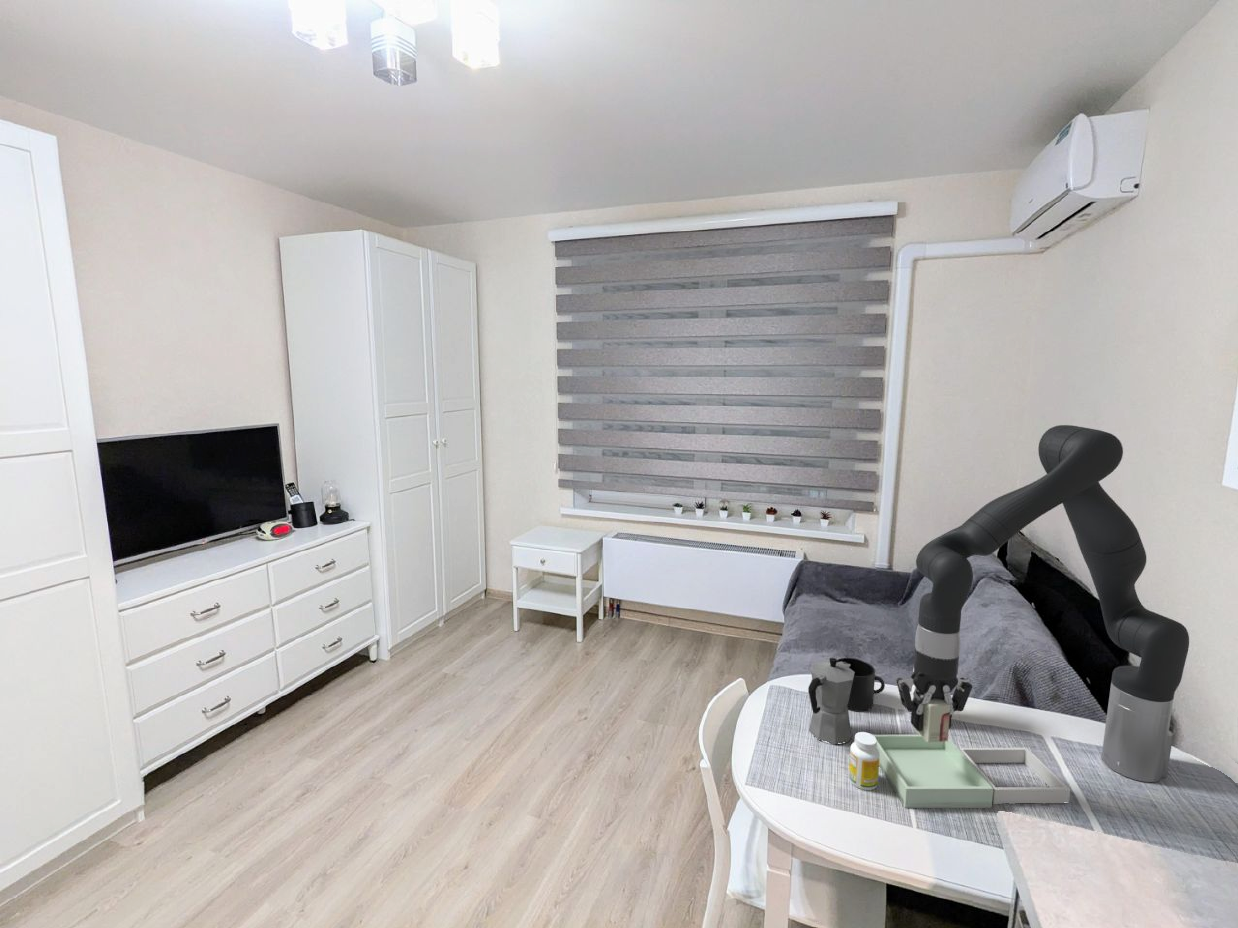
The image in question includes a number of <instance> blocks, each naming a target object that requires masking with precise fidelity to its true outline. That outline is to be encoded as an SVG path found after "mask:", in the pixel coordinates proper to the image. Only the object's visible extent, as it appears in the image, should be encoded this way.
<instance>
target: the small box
mask: <svg viewBox="0 0 1238 928" xmlns="http://www.w3.org/2000/svg"><path fill="white" fill-rule="evenodd" d="M922 714H923V725H922V731H917V730H916V729H915V728H914V726H913V725H912V726H913V729H914V731H915V732H916V733H918V735H921V736H922V737H923V738H924V739H925V740H926V741H927V742H928V743H930V742H943V741H948V737H949V732H950V731H949V730H950V728H949V717H950V704H949V703H946V702H945V701H944V700H943V699H937V698H934V699H930V701H929V703H928V704H927V705H926V706H925V708H924V710H923V713H922Z"/></svg>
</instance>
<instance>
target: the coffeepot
mask: <svg viewBox="0 0 1238 928" xmlns="http://www.w3.org/2000/svg"><path fill="white" fill-rule="evenodd" d="M837 660H838V659H837V658H835V657H830V658H829V660H822V661H818V662H814V663H813V664H812V666H811V669H810V672H811V681H810V683H809V685H808V689H807V690H808V694H809V695H808V696H809V701H810V707H811V710H812V716H811V719H810V724H809V728H808V731H809V732H810V734H811V733H812V734H813V735H814V736H815V737H816V738H818V739H820V740H823V741H827V742H829V743H833V744H832V745H834V744H838V743H843V742H846V743H847V741H848V742H850V739H851V733H852V728H851V723H850V714H849V709H848V707H847V704H848V701H849V696H850V692H851V687H852V683H853V678H854V673H855V672H854V671H853V670H851V669H850V668H849V667H850V665H851V664H848V663H846V662H837ZM836 662H837V663H836ZM812 734H811V735H812ZM813 735H812V736H813ZM814 736H813V737H814ZM815 737H814V738H815ZM818 739H817V740H818ZM820 740H819V741H820Z"/></svg>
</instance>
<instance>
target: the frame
mask: <svg viewBox="0 0 1238 928" xmlns="http://www.w3.org/2000/svg"><path fill="white" fill-rule="evenodd" d="M957 748H958V749H959V750H960V751H961V752H962V753H963V755H964V756H965V757H966V758H967V759H968V760H969V761H970V763H971V764H972V765H973V766H974V767H975V768H976V769H977V771H978V772H979V773H980V774H981V775H982V776H983V777H984V779H985V780H986V781H987V782H988V783H989V784H990V785H991V787H992V788H993V797H992V805H1003V804H1002V803H1009V804H1008V805H1014V804H1015V803H1064V802H1069V803H1070V795H1071V788H1070V787H1068V786H1067V785H1066V783H1064V781H1062V780H1061V778H1059V777H1058V776H1057V775H1056V774H1055V773H1053V771H1052V770H1051V769H1050V768H1049V767H1048V766H1046V764H1045V763H1043V762H1042V761H1041V760H1040V759H1039V758H1038V757H1037V756H1036V755H1035V754H1034V753H1032V751H1030V749H1028V748H1027V747H957ZM991 763H992V764H996V763H997V764H998V763H999V764H1001V763H1002V764H1004V763H1005V764H1006V763H1007V764H1009V763H1010V764H1011V763H1012V764H1013V763H1014V764H1017V763H1018V764H1023V763H1024V764H1025V765H1026V767H1028V768H1029V770H1031V772H1032V773H1034V774H1035V775H1036V776H1037V777H1038V778H1039V779H1040V780H1041V782H1042V783H1044V784H1045V783H1046V784H1047V785H1046V784H1045V785H1046V786H1039V787H1036V786H1034V787H1033V786H1021V787H1019V786H1018V787H1017V786H1012V787H1011V786H1009V787H1008V786H1005V787H1004V786H1003V787H1002V786H999V787H997V786H996V785H994V783H993V782H992V781H991V779H989V778H988V776H987V775H986V774H985V773H984V772H983V771H982V769H980V767H979V766H978V765H977V764H991ZM1048 786H1049V787H1048ZM998 803H999V804H998ZM1015 805H1016V804H1015Z"/></svg>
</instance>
